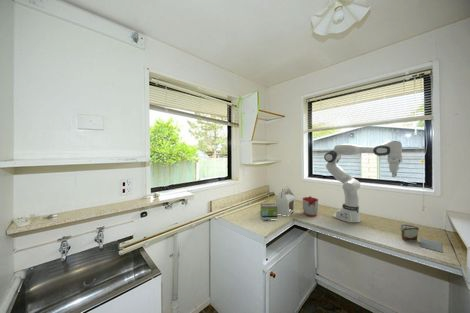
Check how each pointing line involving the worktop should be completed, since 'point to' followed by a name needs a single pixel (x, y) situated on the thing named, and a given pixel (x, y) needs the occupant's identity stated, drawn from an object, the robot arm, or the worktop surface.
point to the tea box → (268, 211)
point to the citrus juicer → (310, 206)
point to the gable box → (285, 202)
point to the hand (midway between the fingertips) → (394, 176)
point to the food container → (409, 232)
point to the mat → (431, 245)
